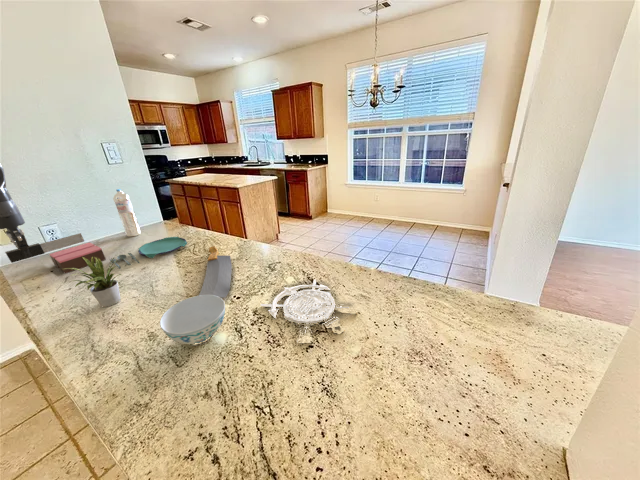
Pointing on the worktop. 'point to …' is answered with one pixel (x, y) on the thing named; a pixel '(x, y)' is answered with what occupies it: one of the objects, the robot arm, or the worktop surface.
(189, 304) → the chinaware
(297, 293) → the pendant
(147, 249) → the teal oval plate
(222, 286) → the cleaver
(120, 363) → the worktop surface
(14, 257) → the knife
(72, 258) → the two-tone red slab
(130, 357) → the worktop surface
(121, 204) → the water bottle
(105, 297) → the house plant
